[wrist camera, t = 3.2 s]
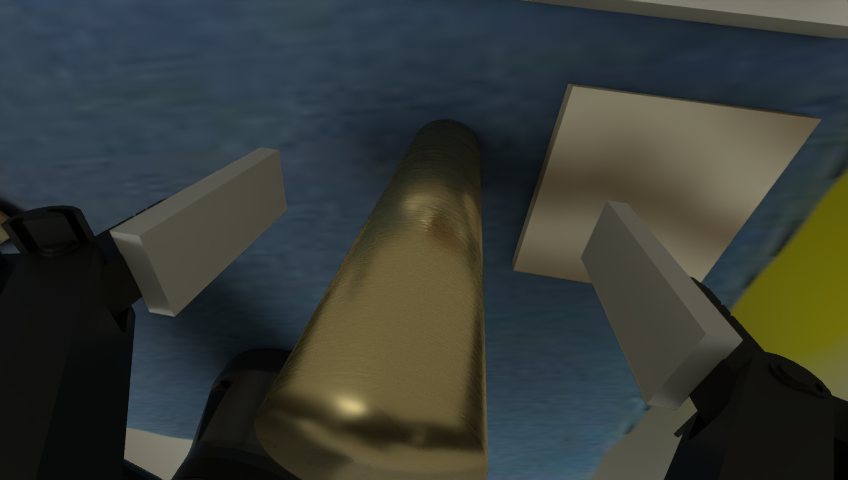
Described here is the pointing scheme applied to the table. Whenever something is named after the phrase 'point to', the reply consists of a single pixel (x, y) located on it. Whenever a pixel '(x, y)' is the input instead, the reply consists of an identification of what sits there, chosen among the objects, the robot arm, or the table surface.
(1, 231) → the croissant
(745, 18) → the beige square block
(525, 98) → the table surface
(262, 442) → the brass capsule
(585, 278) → the birch pad
